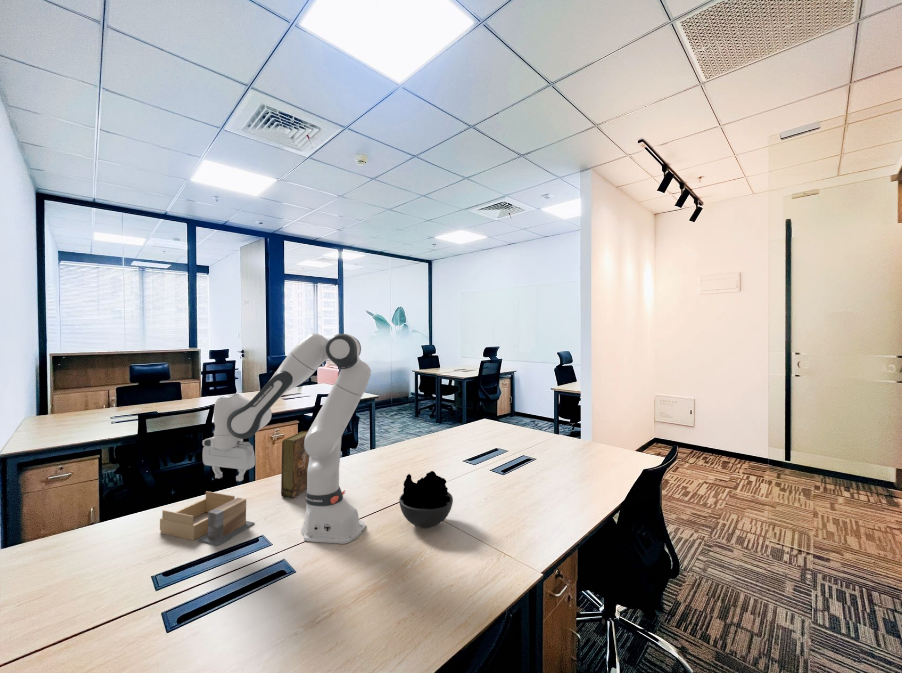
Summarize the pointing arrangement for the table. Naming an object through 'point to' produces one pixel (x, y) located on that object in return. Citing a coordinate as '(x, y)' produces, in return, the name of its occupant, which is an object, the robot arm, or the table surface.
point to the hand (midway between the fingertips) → (229, 479)
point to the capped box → (226, 518)
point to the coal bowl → (425, 500)
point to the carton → (192, 517)
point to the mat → (226, 537)
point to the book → (294, 465)
